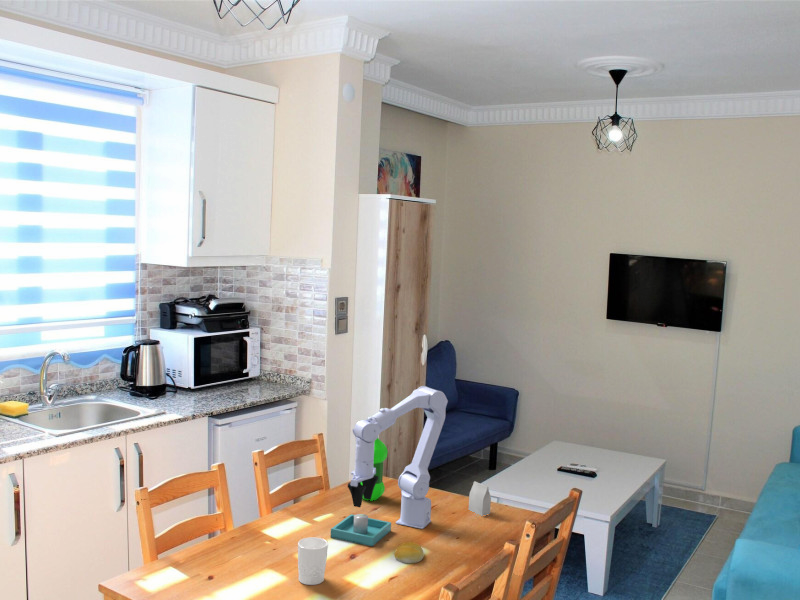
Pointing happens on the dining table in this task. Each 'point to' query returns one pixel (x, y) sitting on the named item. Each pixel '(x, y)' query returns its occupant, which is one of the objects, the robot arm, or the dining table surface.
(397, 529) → the dining table surface
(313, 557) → the white cup
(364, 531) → the white cylinder
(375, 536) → the tray
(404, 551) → the bread roll
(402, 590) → the dining table surface
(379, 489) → the plastic bottle
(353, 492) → the robot arm
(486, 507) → the white gable top carton
